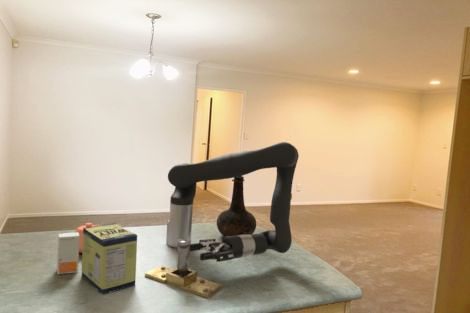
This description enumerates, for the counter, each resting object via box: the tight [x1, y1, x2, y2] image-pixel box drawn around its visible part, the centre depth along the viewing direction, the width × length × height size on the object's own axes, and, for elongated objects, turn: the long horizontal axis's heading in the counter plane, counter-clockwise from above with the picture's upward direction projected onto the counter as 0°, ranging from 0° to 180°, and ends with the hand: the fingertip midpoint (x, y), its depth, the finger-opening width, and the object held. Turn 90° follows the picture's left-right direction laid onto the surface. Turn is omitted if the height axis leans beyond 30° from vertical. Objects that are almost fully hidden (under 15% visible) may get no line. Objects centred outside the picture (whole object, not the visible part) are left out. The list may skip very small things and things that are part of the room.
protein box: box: [81, 222, 138, 295], centre depth 106 cm, size 10×16×16 cm
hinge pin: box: [176, 239, 192, 277], centre depth 109 cm, size 4×4×13 cm
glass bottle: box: [216, 175, 257, 238], centre depth 157 cm, size 18×18×28 cm
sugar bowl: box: [74, 222, 101, 254], centre depth 131 cm, size 12×14×10 cm
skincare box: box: [56, 232, 80, 275], centre depth 111 cm, size 6×4×12 cm
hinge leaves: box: [144, 265, 223, 299], centre depth 109 cm, size 24×8×3 cm, turn 61°
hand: (194, 252), depth 111 cm, fingers open, 8 cm apart
